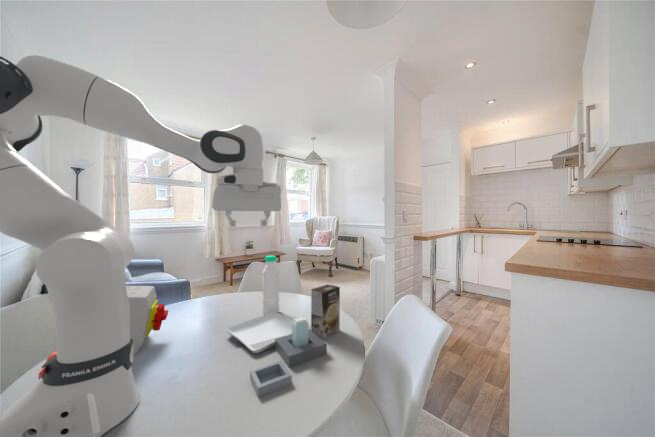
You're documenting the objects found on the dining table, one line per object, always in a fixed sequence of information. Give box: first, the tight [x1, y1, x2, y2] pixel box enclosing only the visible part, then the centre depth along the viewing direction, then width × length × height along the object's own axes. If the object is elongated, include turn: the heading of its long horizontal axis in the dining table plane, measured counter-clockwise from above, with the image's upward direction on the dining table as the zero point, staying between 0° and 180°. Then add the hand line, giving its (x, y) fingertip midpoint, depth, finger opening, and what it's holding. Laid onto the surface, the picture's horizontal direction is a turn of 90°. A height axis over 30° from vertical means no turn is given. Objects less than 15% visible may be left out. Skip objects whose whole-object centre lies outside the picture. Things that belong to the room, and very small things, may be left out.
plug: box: [291, 316, 309, 348], centre depth 72 cm, size 4×3×11 cm
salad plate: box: [225, 312, 294, 354], centre depth 84 cm, size 21×21×3 cm
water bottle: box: [262, 254, 280, 315], centre depth 104 cm, size 7×7×25 cm
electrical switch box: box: [126, 285, 169, 356], centre depth 78 cm, size 15×15×20 cm
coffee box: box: [310, 284, 341, 340], centre depth 86 cm, size 9×6×16 cm
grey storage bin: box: [249, 360, 293, 398], centre depth 59 cm, size 8×7×3 cm
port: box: [274, 328, 328, 368], centre depth 72 cm, size 12×11×5 cm
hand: (248, 226), depth 73 cm, fingers open, 8 cm apart
